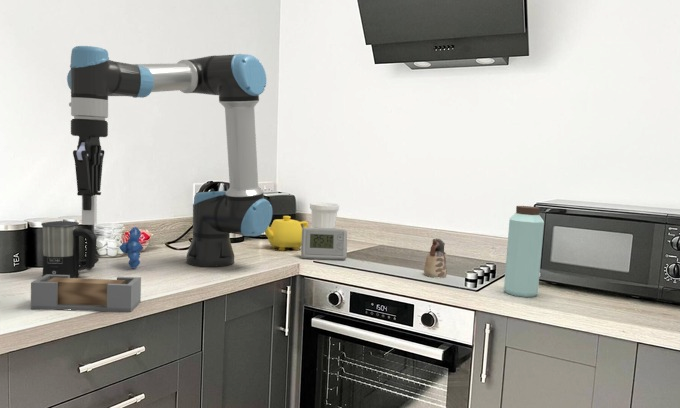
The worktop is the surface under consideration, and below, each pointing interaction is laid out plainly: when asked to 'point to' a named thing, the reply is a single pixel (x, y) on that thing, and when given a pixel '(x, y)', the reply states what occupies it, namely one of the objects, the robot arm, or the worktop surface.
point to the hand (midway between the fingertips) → (89, 224)
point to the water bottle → (524, 252)
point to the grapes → (133, 247)
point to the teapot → (285, 233)
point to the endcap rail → (117, 301)
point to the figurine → (436, 260)
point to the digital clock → (324, 243)
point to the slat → (83, 290)
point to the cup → (324, 215)
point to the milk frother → (66, 248)
